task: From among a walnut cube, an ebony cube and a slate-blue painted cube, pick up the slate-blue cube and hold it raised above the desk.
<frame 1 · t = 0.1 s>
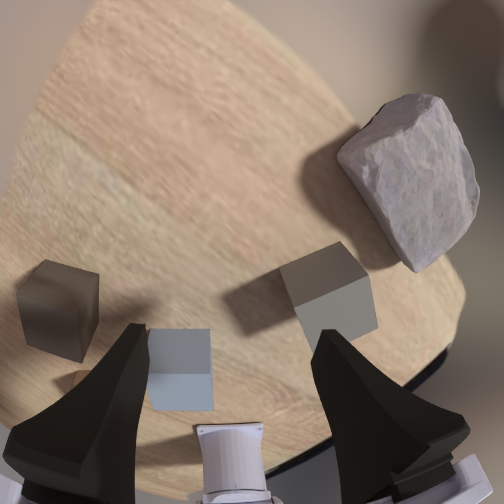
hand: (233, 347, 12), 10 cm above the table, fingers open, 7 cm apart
ebony cube: (72, 291, 21), on the table
grey cube: (318, 279, 23), on the table
stone block: (411, 173, 20), on the table
slate blue cube: (182, 349, 25), on the table
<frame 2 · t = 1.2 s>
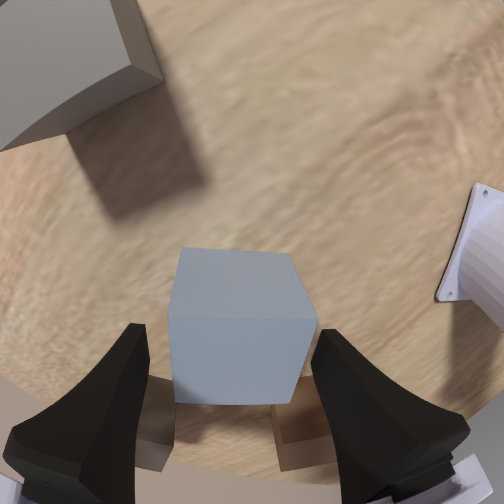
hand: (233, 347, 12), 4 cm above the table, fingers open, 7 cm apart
ebony cube: (137, 392, 18), on the table
grey cube: (95, 59, 9), on the table
slate blue cube: (231, 294, 15), on the table
walnut cube: (304, 395, 20), on the table
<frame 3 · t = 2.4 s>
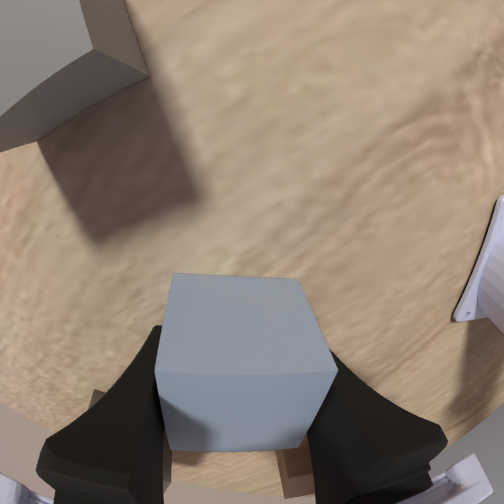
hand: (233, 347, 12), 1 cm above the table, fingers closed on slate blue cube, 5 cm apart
ebony cube: (130, 418, 16), on the table
grey cube: (69, 52, 7), on the table
slate blue cube: (231, 325, 13), on the table, touching gripper
walnut cube: (309, 420, 18), on the table
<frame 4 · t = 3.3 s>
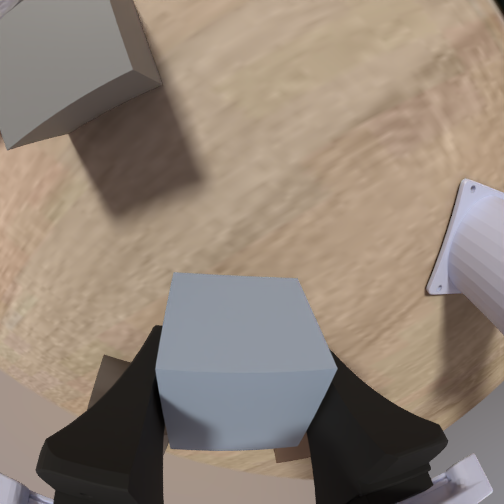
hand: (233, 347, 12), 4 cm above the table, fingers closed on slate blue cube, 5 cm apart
ebony cube: (135, 385, 19), on the table
grey cube: (96, 63, 10), on the table
stone block: (3, 0, 6), on the table
slate blue cube: (231, 324, 13), point 3 cm above the table, touching gripper
walnut cube: (298, 388, 20), on the table
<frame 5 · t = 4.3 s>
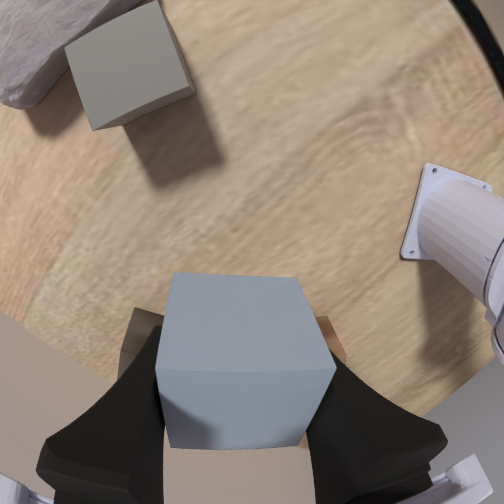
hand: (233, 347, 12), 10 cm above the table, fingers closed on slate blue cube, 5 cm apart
ebony cube: (158, 336, 24), on the table
grey cube: (145, 74, 15), on the table
stone block: (58, 15, 12), on the table
slate blue cube: (231, 323, 13), point 8 cm above the table, touching gripper
walnut cube: (297, 340, 25), on the table
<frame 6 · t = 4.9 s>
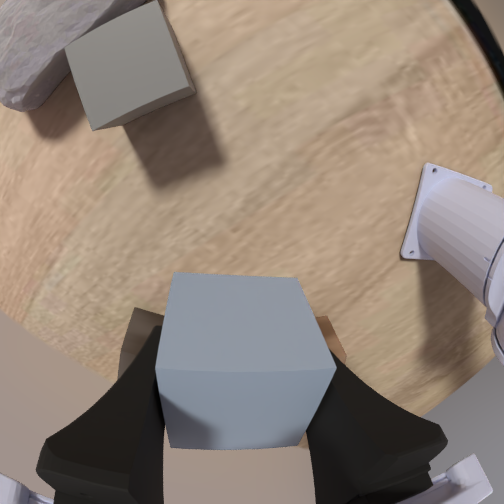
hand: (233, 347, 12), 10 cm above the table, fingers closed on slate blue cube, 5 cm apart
ebony cube: (158, 336, 24), on the table
grey cube: (145, 74, 15), on the table
stone block: (60, 17, 12), on the table
slate blue cube: (231, 323, 13), point 8 cm above the table, touching gripper
walnut cube: (297, 340, 25), on the table
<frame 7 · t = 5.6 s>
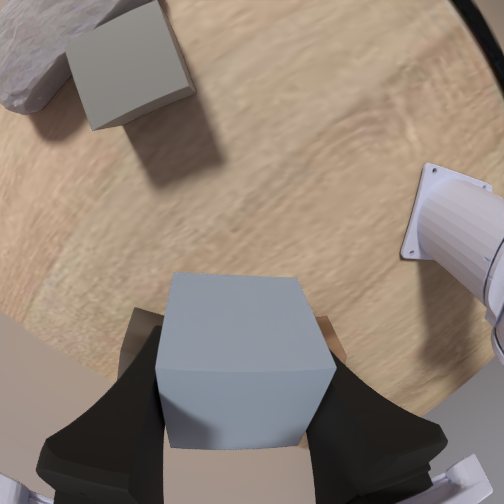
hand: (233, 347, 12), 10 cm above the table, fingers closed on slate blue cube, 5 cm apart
ebony cube: (158, 336, 24), on the table
grey cube: (145, 74, 15), on the table
stone block: (62, 19, 12), on the table
slate blue cube: (231, 323, 13), point 8 cm above the table, touching gripper
walnut cube: (297, 340, 25), on the table
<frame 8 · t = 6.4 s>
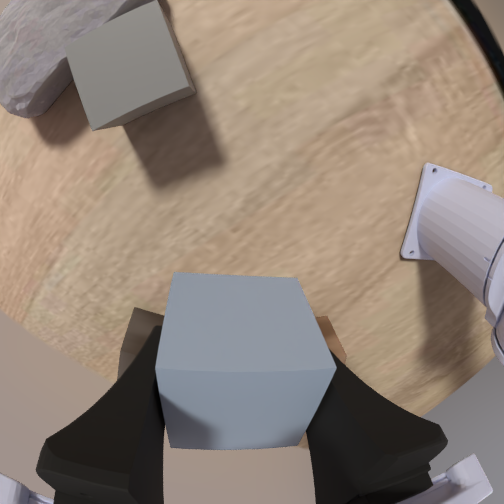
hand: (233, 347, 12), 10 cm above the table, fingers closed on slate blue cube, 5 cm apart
ebony cube: (158, 336, 24), on the table
grey cube: (145, 74, 15), on the table
stone block: (64, 21, 12), on the table
slate blue cube: (231, 323, 13), point 8 cm above the table, touching gripper
walnut cube: (297, 340, 25), on the table
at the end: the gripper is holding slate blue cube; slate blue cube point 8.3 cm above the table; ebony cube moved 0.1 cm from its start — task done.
